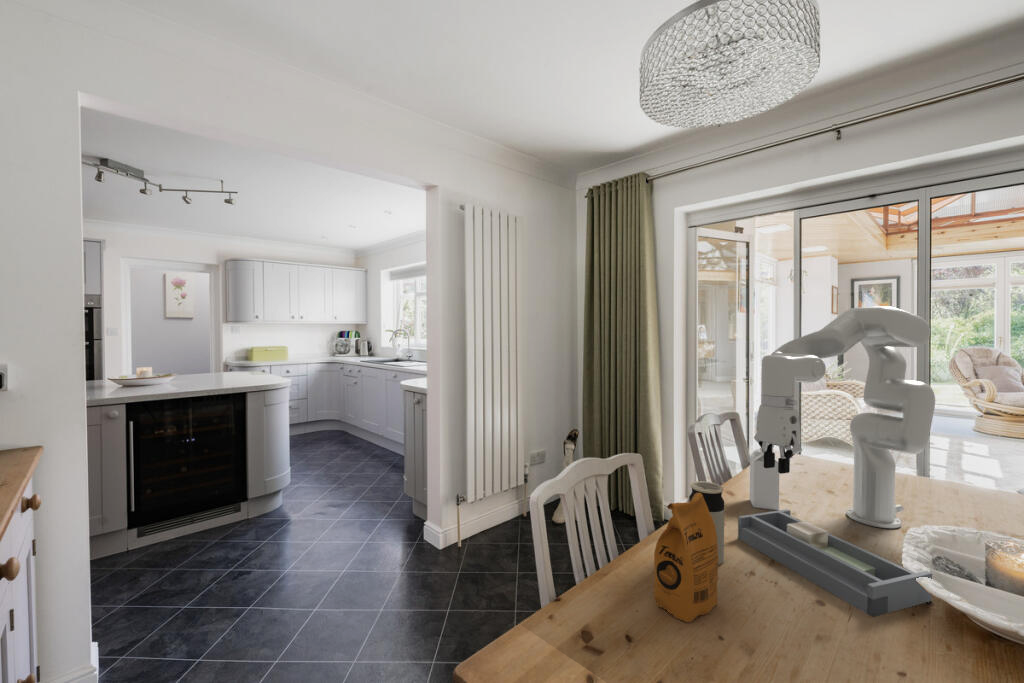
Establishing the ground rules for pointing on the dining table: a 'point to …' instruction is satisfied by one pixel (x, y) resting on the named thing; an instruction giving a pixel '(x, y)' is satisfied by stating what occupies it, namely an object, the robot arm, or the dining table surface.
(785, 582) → the dining table surface
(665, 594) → the coffee package
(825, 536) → the block
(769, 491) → the milk carton
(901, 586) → the box
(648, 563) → the dining table surface
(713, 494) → the travel mug
